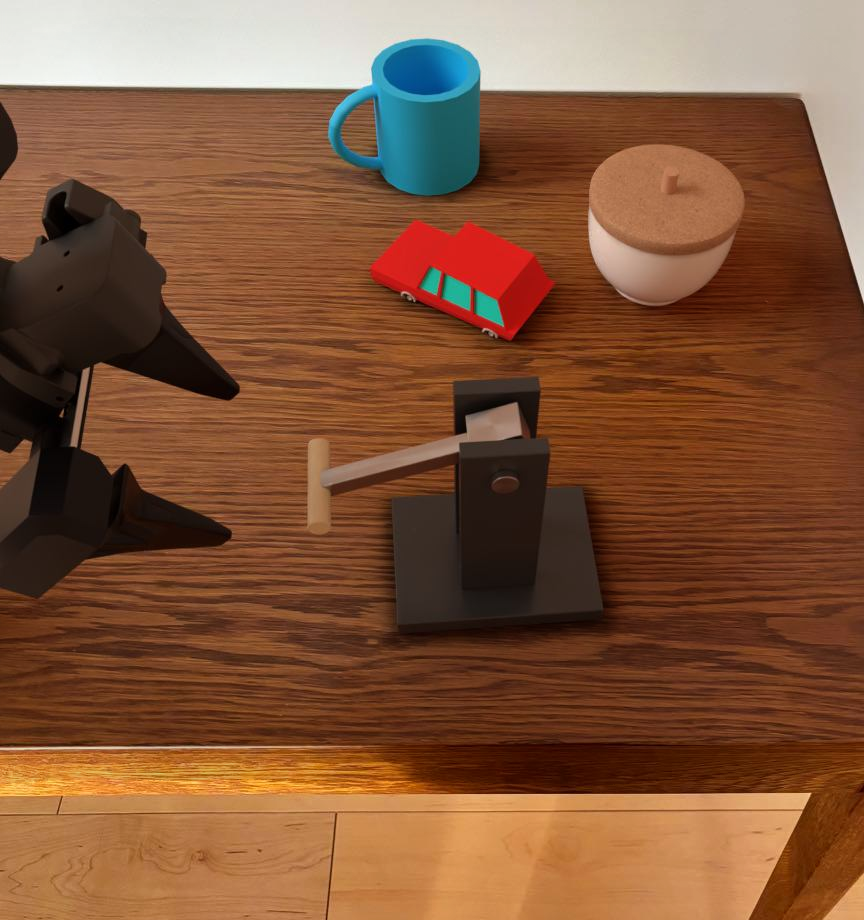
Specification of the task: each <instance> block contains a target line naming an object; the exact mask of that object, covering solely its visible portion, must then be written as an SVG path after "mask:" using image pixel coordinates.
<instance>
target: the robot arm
mask: <svg viewBox="0 0 864 920" xmlns="http://www.w3.org/2000/svg"><path fill="white" fill-rule="evenodd" d="M18 143H19V142H18V134H17V131H16V129H15V126H14V123H13V120H12V118H11V116H10V115H9V113H8V112H7V110H6V109H5V107H4V105H3V103H2V102H1V101H0V181H1V180H2V179H3V177H4V176H5V174H6V173H7V172H8V170H9V169H10V168H11V166H12V165H13V164H14V162H15V161H16V159H17V157H18V152H19V144H18ZM41 223H42V226H43V229H44V231H45V234H46V236H45V235H44V234H41V235H39V236H37V237H35V241H34V245H33V249H32V252H31V253H30V254H29V255H27V256H25V257H24V258H21V259H20V260H19V261H15V260H11V259H8V258H4V257H2V256H0V451H2V452H5V453H7V454H11V453H13V452H14V450H15V449H17V447H18V446H20V444H21V443H22V442H23V441H24V440H25V441H28V442H29V443H31V447H30V453H29V457H28V461H27V462H26V463H25V464H24V465H23V466H22V467H21V468H20V469H19V470H18V471H16V473H15V474H13V476H12V477H11V478H10V479H9V480H8V481H6V483H4V485H3V486H2V487H1V488H0V589H3V590H5V591H7V592H8V591H9V592H11V593H15V594H19V595H23V596H25V597H28V598H32V599H35V600H39V599H40V598H42V596H44V595H45V594H46V593H47V592H48V591H50V590H51V589H52V588H53V587H54V586H56V585H57V584H58V583H59V582H60V581H61V580H63V579H65V578H66V577H67V576H68V575H69V574H70V573H72V572H73V571H75V569H76V568H77V567H79V566H80V565H81V564H82V563H84V561H86V560H91V559H99V558H103V557H104V558H105V557H110V556H117V555H121V554H128V553H129V554H130V553H138V552H150V551H151V552H153V551H166V550H167V551H169V550H182V549H199V548H214V547H221V546H223V545H225V544H226V543H228V542H229V541H230V540H231V539H232V537H233V531H232V530H231V528H229V527H227V526H226V525H223V524H221V523H220V522H219V521H216V520H214V519H213V518H211V517H208V516H207V515H204V514H202V513H200V512H197V511H195V510H192V509H189V508H187V507H184V506H182V505H180V504H177V503H175V502H172V501H170V500H168V499H166V498H163V497H160V496H158V495H156V494H154V493H150V492H148V491H146V490H144V489H143V488H142V487H141V486H140V484H139V482H138V480H137V479H136V476H135V475H134V473H133V471H132V469H131V467H130V465H129V464H127V463H126V462H124V463H123V464H122V465H120V467H118V469H116V470H115V471H114V472H113V473H112V474H111V472H110V470H109V469H108V468H107V467H106V465H105V464H104V462H103V461H102V459H101V458H100V456H99V455H97V454H94V453H91V452H89V451H86V450H84V449H82V444H83V437H84V431H85V426H86V420H87V419H86V418H87V412H88V406H89V401H90V393H91V387H92V382H93V377H94V376H93V374H94V369H95V366H96V365H98V364H101V363H102V364H104V365H107V366H110V367H114V368H117V369H120V370H123V371H127V372H130V373H132V374H136V375H138V376H142V377H145V378H148V379H151V380H154V381H157V382H159V383H162V384H166V385H170V386H172V387H176V388H179V389H181V390H184V391H187V392H190V393H194V394H197V395H201V396H205V397H208V398H214V399H218V400H223V401H227V402H228V401H229V402H230V401H232V400H233V399H234V398H236V397H237V396H238V395H239V394H240V391H241V386H240V384H239V383H238V382H237V381H236V380H235V378H233V377H232V376H231V375H230V373H229V372H228V371H226V369H224V367H223V366H222V365H221V364H220V363H219V362H218V361H217V360H216V359H215V358H214V356H212V355H211V354H210V353H209V352H208V351H207V350H206V349H205V348H204V347H203V346H202V345H201V344H200V343H199V341H198V340H196V339H195V337H193V335H192V334H190V332H189V331H188V330H187V329H186V328H185V327H184V326H183V325H182V323H181V322H180V321H179V320H178V318H176V316H175V315H174V314H173V313H172V311H171V310H170V309H169V308H168V307H167V305H166V303H165V302H164V300H163V295H162V287H163V285H165V284H166V283H167V277H168V275H167V270H166V268H165V267H163V266H162V264H161V263H160V262H159V261H158V260H157V259H156V257H155V256H154V255H153V254H152V253H151V252H149V251H148V250H147V249H146V246H147V239H148V232H147V231H145V230H144V229H142V228H141V227H142V226H141V225H142V218H141V216H140V215H139V213H138V212H136V211H135V210H133V209H127V208H123V206H121V204H120V203H119V202H118V201H117V200H115V199H114V198H113V197H111V196H110V195H108V194H105V193H104V192H102V191H99V190H97V189H95V188H93V187H91V186H90V185H87V184H85V183H83V182H81V181H79V180H77V179H74V178H70V179H68V180H66V181H64V182H61V183H59V184H58V185H55V186H53V187H52V188H50V189H48V190H47V192H46V195H45V201H44V204H43V209H42V212H41ZM61 414H62V416H61Z"/></svg>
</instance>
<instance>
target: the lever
mask: <svg viewBox="0 0 864 920" xmlns="http://www.w3.org/2000/svg"><path fill="white" fill-rule="evenodd" d="M465 418H466V428H467V433H463V434H460V435H456V436H454V435H452V436H449V437H445V438H441V439H437V440H433V441H429V442H426V443H425V442H424V443H422V444H418V445H414V446H410V447H406V448H403V449H402V448H401V449H399V450H395V451H391V452H388V453H384V454H380V455H375V456H373V457H369V458H368V457H367V458H364V459H361V460H356V461H353V462H349V463H346V464H342V465H337V466H334V467H331V442H330V441H329V440H327V439H326V438H323V437H316V438H312V439H311V440H309V441H308V443H307V501H306V502H307V507H306V511H307V513H306V515H307V519H306V522H307V523H306V527H307V528H306V529H307V531H308V532H309V533H310V534H313V535H319V536H320V535H326V534H327V533H329V532H330V531H331V530H332V497H334V496H338V495H343V494H346V493H349V492H354V491H357V490H361V489H362V490H363V489H365V488H369V487H373V486H377V485H381V484H384V483H388V482H393V481H396V480H401V479H404V478H408V477H412V476H417V475H420V474H423V473H428V472H431V471H432V472H433V471H435V470H439V469H444V468H447V467H451V466H454V465H455V464H459V443H460V442H478V441H496V440H513V439H531V438H530V431H529V427H528V425H527V423H526V420H525V418H524V416H523V414H522V411H521V409H520V407H519V404H518V402H514V403H510V404H506V405H503V406H499V407H495V408H491V409H488V410H484V411H480V412H476V413H473V414H469V415H466V416H465Z"/></svg>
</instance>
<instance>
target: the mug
mask: <svg viewBox="0 0 864 920" xmlns="http://www.w3.org/2000/svg"><path fill="white" fill-rule="evenodd" d="M370 73H371V83H372V84H369V85H365V86H363V87H361V88H359V89H357V90H356V91H354V92H352V93H350V94H349V95H348V96H347V97H345V99H343V100H342V101H341V102H340V103H339V104H338V106H336V108H335V110H334V111H333V114H332V115H331V117H330V119H329V122H328V132H327V136H328V140H329V142H330V145H331V148H332V150H333V152H334V153H336V154H337V155H338V157H340V159H342V161H344V162H345V163H348V164H350V165H352V166H354V167H356V168H359V169H365V170H366V169H367V170H371V171H373V170H374V171H377V170H379V171H380V174H381V175H382V177H383V178H384V179H385V180H386V182H387V183H389V184H390V185H391V186H392V187H395V188H396V189H398V190H400V191H403V192H406V193H408V194H412V195H418V196H426V197H429V196H440V195H441V196H442V195H447V194H450V193H453V192H456V191H460V190H461V189H463V188H464V187H465V186H467V185H469V184H470V183H471V182H472V180H474V178H475V177H476V176H477V174H478V171H479V167H480V146H481V145H480V143H481V142H480V141H481V139H480V138H481V137H480V136H481V135H480V134H481V67H480V64H479V60H478V59H477V58H476V57H475V55H474V54H473V53H472V52H471V51H470V50H468V49H466V48H465V47H463V46H461V45H460V44H457V43H454V42H450V41H447V40H444V39H437V38H436V39H435V38H428V37H427V38H413V39H407V40H404V41H400V42H396V43H394V44H391V45H390V46H388V47H386V48H384V49H382V50H381V51H380V53H378V55H376V56H375V58H374V59H373V62H372V65H371V67H370ZM370 100H373V108H374V120H375V132H376V144H377V156H367V155H360V154H359V153H356V152H354V151H352V150H350V149H349V148H348V147H347V145H345V144H344V141H343V138H342V127H343V125H344V123H345V121H346V119H347V118H348V116H349V115H350V114H351V113H352V112H353V111H354V110H355V109H356V108H357V107H359V106H361V105H362V104H364V103H366V102H368V101H370Z"/></svg>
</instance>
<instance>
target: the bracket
mask: <svg viewBox="0 0 864 920" xmlns="http://www.w3.org/2000/svg"><path fill="white" fill-rule="evenodd" d="M541 392H542V388H541V384H540V378H539V376H521V377H520V376H519V377H505V378H504V377H502V378H483V379H465V380H464V379H462V380H453V381H452V396H453V397H452V407H453V409H452V410H453V411H452V413H453V417H452V418H453V436H456V435H460V434H463V433H467V428H466V418H465V416H466V415H469V414H473V413H476V412H480V411H484V410H488V409H491V408H495V407H499V406H503V405H506V404H510V403H514V402H518V404H519V407H520V409H521V411H522V414H523V416H524V418H525V420H526V423H527V425H528V427H529V431H530V438H531V439H513V440H496V441H478V442H460V443H459V464H455V465H453V487H454V488H453V489H454V493H442V494H428V495H427V494H426V495H411V496H395V497H391V498H390V502H391V522H392V543H393V544H392V545H393V560H394V561H393V562H394V563H393V564H394V565H393V566H394V584H395V585H394V587H395V605H396V606H395V607H396V624H397V632H398V634H399V635H401V634H417V633H428V632H429V633H431V632H442V631H444V632H445V631H456V630H470V629H471V630H472V629H482V628H483V629H484V628H498V627H499V628H500V627H512V626H514V627H515V626H525V625H526V626H527V625H540V624H553V623H567V622H581V621H582V622H583V621H597V620H602V618H603V614H604V604H603V598H602V591H601V586H600V580H599V575H598V569H597V563H596V558H595V552H594V546H593V539H592V535H591V530H590V523H589V518H588V517H589V516H588V512H587V506H586V501H585V494H584V488H583V485H575V486H574V485H573V486H559V487H547V486H548V477H549V470H550V469H549V468H550V460H551V447H550V441H549V437H537V434H538V433H537V432H538V424H539V413H540V402H541V394H542V393H541Z"/></svg>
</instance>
